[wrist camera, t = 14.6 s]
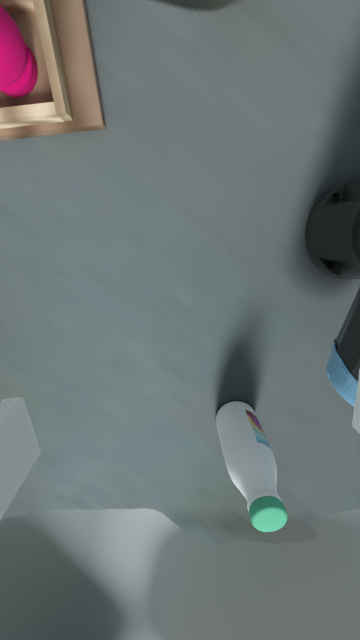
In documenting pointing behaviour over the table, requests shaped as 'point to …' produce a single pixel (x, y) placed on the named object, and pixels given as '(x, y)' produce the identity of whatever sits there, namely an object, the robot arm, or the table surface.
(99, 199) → the table surface
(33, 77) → the pepper mill
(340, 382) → the robot arm
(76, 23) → the holder board
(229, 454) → the milk bottle
